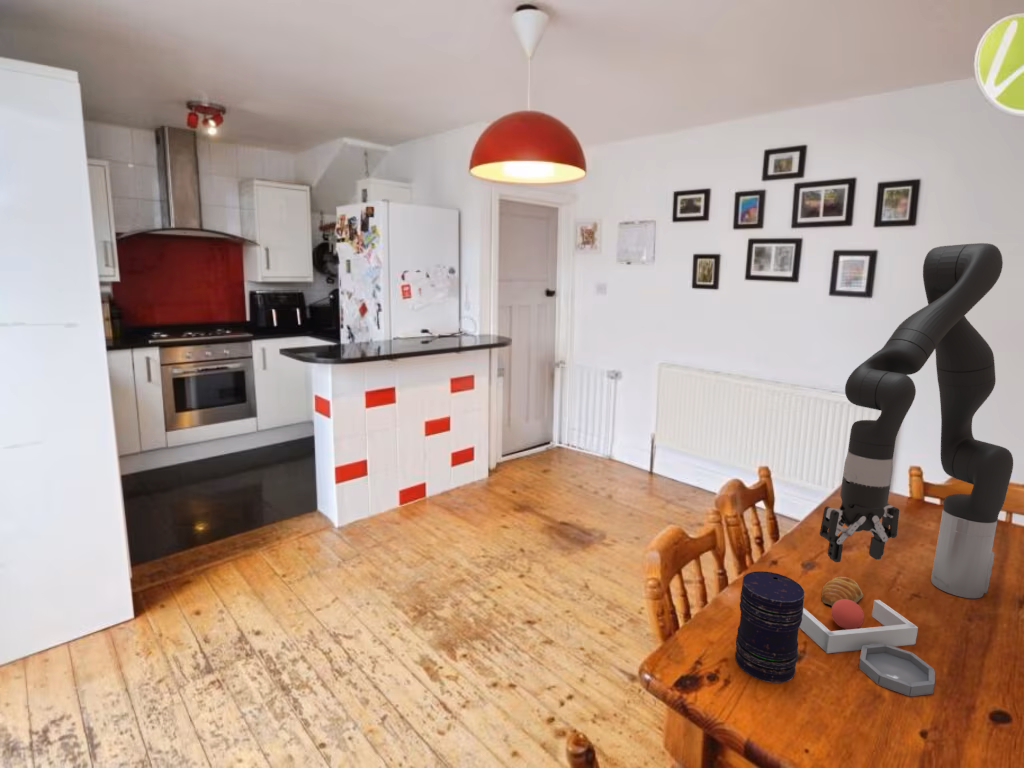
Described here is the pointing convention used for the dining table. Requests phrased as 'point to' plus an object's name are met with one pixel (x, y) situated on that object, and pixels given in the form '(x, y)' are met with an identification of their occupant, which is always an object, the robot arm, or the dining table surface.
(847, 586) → the pastry
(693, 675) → the dining table surface
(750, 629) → the dark blue ridged cylinder
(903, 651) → the dish
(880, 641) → the white u-shaped bracket
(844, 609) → the ball
